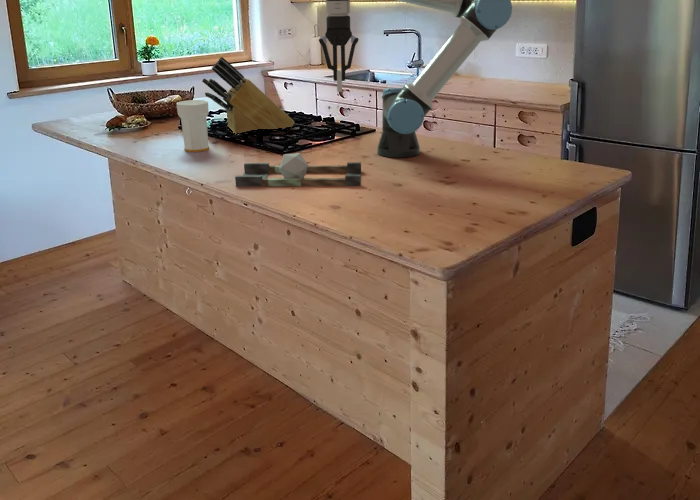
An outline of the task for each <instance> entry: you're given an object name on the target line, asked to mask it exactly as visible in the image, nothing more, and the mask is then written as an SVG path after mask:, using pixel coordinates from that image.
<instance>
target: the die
mask: <svg viewBox="0 0 700 500" xmlns="http://www.w3.org/2000/svg"><path fill="white" fill-rule="evenodd" d="M279 166H280V167H279V170H280V172H281V173H280V174H281V176H282V177H283V178H305V176H306V174H307V173H306V170H307V167H308V166H309V164H308V163H307V161H306V160H305V158H304V156H303V155H302V154H301V152H297V153H285V154H284V153H283V155H282V159H281V162H280V164H279Z"/></svg>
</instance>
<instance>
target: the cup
mask: <svg viewBox="0 0 700 500" xmlns="http://www.w3.org/2000/svg"><path fill="white" fill-rule="evenodd" d="M176 110H177V111H176V112H177V116H178V117H179V118H180V121H181V129H182V136H183V143H184V144H183V145H184V146H183V147H184V148H183V149H184V151H185V152H188V153H201V152H206V151H208V150H210V145H209V139H208V136H209V135H208V122H207V121H208V120H207V117H208V115H209V113H210V111H209V102H208V100H204V99H203V100H202V99H190V100H189V99H188V100H181V101H178V102H176Z"/></svg>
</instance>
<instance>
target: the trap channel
mask: <svg viewBox="0 0 700 500" xmlns="http://www.w3.org/2000/svg"><path fill="white" fill-rule="evenodd" d="M243 167H244V168H243V169H244V171H243V172H244V173H243V174H242V175H235V176H234V181H235V187H360V186H361V179H362V162H361V161H360V162H357V161H356V162H355V161H353V162H351V161H349V162H347V163H346V164H345V165H341V164H339V165H334V164H333V165H332V164H331V165H308V167H307V170H306V173H305V174H310V173H311V174H315V173H316V174H317V173H318V174H319V173H321V174H324V173H325V174H327V173H328V174H329V173H333V174H335V173H336V174H337V173H340V174H341V173H343V174H345V173H346V174H345V175H344V177H342V178H341V177H339V178H338V177H337V178H335V177H328V178H327V177H319V178H317V177H316V178H315V177H313V178H312V177H311V178H310V177H309V178H308V177H307V178H305V177H304V178H284V177H283V178H282V177H281V178H280V177H279V178H268V176H269V174H281V172H280V170H279V167H280V165H270V162H244V163H243Z"/></svg>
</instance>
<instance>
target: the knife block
mask: <svg viewBox="0 0 700 500" xmlns="http://www.w3.org/2000/svg"><path fill="white" fill-rule="evenodd" d="M211 70H212V71H213V72H214V73H215V74H216V75H217V76H219V78H221V79H222V80H223V81H224V82H226V84H228V85H229V86H230V87H231V88H229V90H227V89H225V88H224V87H223V86H222V85H221V84H219V82H217V81H216V80H215V79H212V78H210V79H206V78H203V79H202V80H201V81H202V83H204V84H205V85H206V86H207V87H208V88H209V89H211V90H212V91H213V92H214V93H216V94H217V95H218V96H220V97H221V98H222V99H221V98H220V97H218V96H217V95H215V94H212V93H210V92H204V95H205V97H207V98H209V99H211V100H212V101H213V102H215V103H216V104H217V105H219V106H220V107H221V108H223V109H226V118H227V127H229V128H230V129H231V130H232V131H233V134H234V133H235V134H234V135H236V134H237V133H242V132H246V131H250V130H257V129H278V128H286V127H291V128H292V127H293V126H294V125H295V120H293V119H292V117H290V116H289V115H288V114H287V113H286V112H285V111H284V110H283V109H281V108H280V106H278V105H277V104H276V103H275V102H274V101H273V100H272V99H271V98H270V97H269V96H267V95H266V94H265V93H264V91H262V90H261V89H260V88H259V87H257V85H255V83H253V82H252V80H250V79H248V78H245V76H244V75H243V74H242V73H241V72H239V70H238V69H236V68H235V67H234V65H232V64H231V63H230V62H229V61H227V60H226V59H225V58H224V57H223V56H220V57H219V59H218V60H217V62H215V64H214V65H213V66H211Z"/></svg>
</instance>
